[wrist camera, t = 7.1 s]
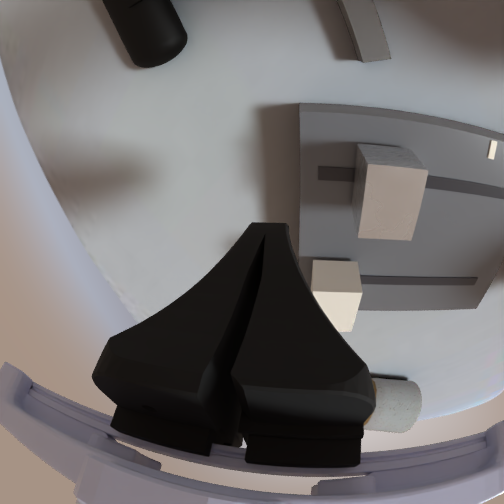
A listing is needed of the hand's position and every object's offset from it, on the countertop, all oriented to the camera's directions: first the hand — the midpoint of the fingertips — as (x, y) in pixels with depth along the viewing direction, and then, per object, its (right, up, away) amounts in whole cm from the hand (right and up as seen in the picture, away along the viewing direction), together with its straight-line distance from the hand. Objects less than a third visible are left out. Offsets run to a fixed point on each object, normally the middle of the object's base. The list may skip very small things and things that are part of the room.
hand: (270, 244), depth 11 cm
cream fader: (+5, -2, +9) cm, 11 cm away
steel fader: (+6, +4, +4) cm, 8 cm away
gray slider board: (+11, +2, +8) cm, 14 cm away
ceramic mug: (+18, -19, +25) cm, 36 cm away
